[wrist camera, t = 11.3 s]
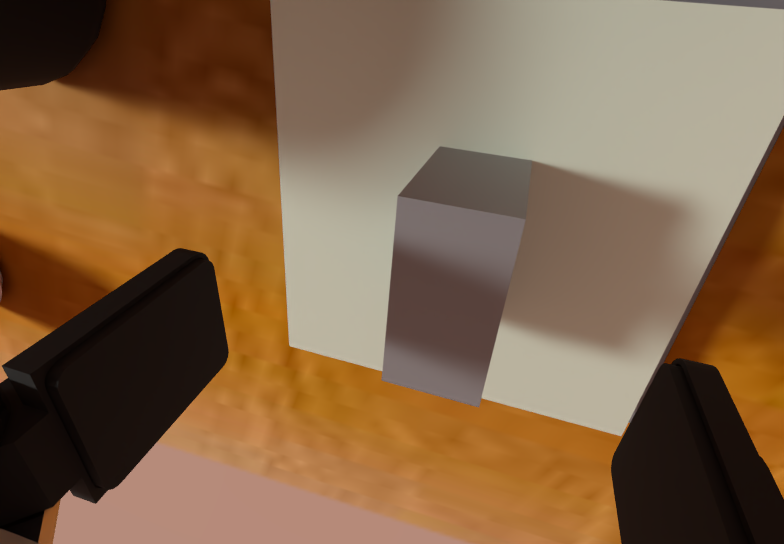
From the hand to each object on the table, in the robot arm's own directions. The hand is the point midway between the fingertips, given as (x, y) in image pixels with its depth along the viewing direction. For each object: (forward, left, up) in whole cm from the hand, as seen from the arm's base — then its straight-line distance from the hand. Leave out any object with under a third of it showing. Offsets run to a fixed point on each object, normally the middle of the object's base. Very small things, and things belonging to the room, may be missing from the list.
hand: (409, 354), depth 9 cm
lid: (+1, 0, -9) cm, 9 cm away
